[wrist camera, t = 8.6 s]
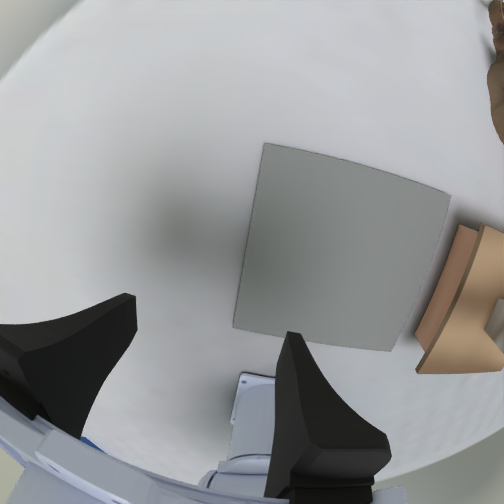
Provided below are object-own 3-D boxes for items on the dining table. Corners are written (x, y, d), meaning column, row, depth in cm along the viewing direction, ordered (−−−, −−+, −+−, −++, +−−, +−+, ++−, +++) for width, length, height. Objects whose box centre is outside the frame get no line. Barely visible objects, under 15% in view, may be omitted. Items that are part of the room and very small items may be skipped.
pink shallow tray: (483, 339, 22) (498, 360, 18) (414, 333, 22) (429, 360, 19) (522, 250, 18) (545, 264, 14) (458, 223, 18) (485, 238, 15)
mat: (389, 348, 23) (390, 351, 23) (233, 324, 24) (232, 327, 23) (448, 194, 18) (451, 195, 17) (265, 143, 18) (264, 143, 18)
